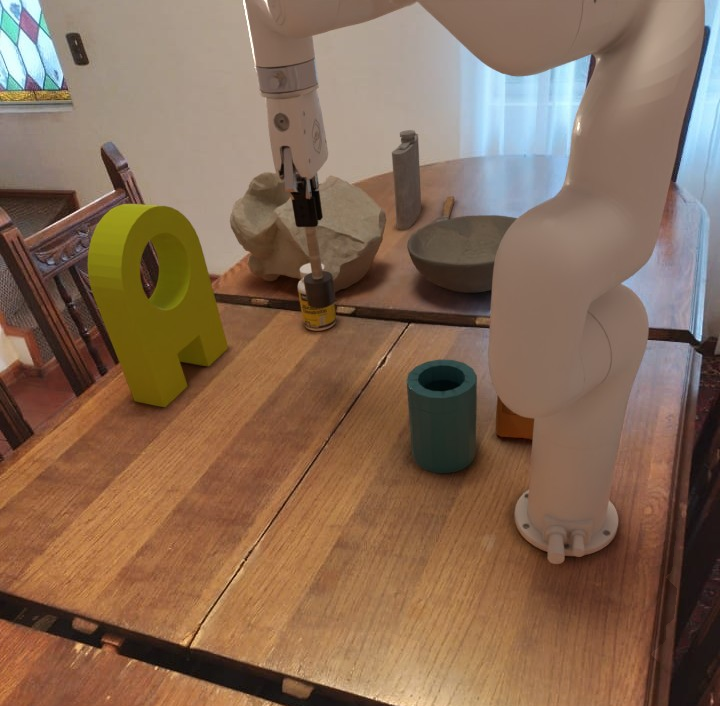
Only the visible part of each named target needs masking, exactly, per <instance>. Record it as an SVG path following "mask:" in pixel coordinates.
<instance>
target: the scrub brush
mask: <svg viewBox="0 0 720 706" xmlns="http://www.w3.org/2000/svg"><path fill="white" fill-rule="evenodd" d="M298 183H302V184H303V185H304V183H303V181H299V182H298ZM305 233H306V239H307V246H308V252H309V258H310V265H311V271H312V273H309V274H307V275H306V276H305V277H304V286H305V292H306V297H307V303H308V305H309V306H310V307H313V308H324V307H328V306H330V305H332V304H333V303H334V304H335V302H336V299H337V298H336V292H334V284H333V277H332V274H331V273H330V272H327V271H322V266H321V259H320V252H319V245H318V239H317V232H316V227H305Z"/></svg>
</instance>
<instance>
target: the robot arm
mask: <svg viewBox="0 0 720 706" xmlns="http://www.w3.org/2000/svg"><path fill="white" fill-rule="evenodd" d="M242 1H243V6H244V12H245V18H246V22H247V28H248V34H249V39H250V45H251V50H252V56H253V61H254V68H255V73H256V79H257V84H258V85H257V86H258V90H259V95H260V96H261V97H262V98H265V107H266V118H267V127H268V128H267V129H268V135H269V142H270V143H269V144H270V149H271V156H272V161H273V166H274V170H275V173H276V174H277V176H278V178H279V179H281V180H284V179H285V191H286V192H290V198H291V200H292V205H293V211H294V217H295V223H296V226H297V227H316V226H317V225H318V220H321V219H322V217H323V215H322V208H321V201H320V193H319V191H315V190H318V189H319V184H320V182H319V177H318V176H319V175H318V172H319V171H320V170H321V169H322V167H323V166H324V164H325V163H326V162H327V160H328V158H329V150H328V142H327V137H326V131H325V125H324V124H325V123H324V118H323V113H322V108H321V102H320V97H319V93H318V89H319V87H320V86H319V77H318V69H317V61H316V54H315V48H314V47H315V46H314V38H313V36H318V35H321V34H325V33H327V32H331V31H335V30H338V29H339V30H340V29H343V28H347V27H351V26H355V25H359V24H364V23H366V22H369V21H373V20H376V19H378V18H380V17H383V16H386V15H388V14H391V13H393V12H396V11H398V10H402V9H403V8H407V7H411V6H413V5H415V4H416V3H418V4H419V5H420V6H421V7H422V9H424V10H425V11H426V12H428V14H430V15H431V16H432V17H433V18H434V19H435V20H436V21H437V22H438V23H439V24H440V25H441V26H442V27H443V28H444V29H446V30H447V31H448V33H450V34H451V35H452V37H454V38H455V39H456V40H457V41H458V42H459V43H460V44H461V45H462V46H463V47H464V48H466V49H467V50H468V51H469V52H470V53H471V55H473V56H474V57H476V59H478V60H479V61H480V62H481V63H483V64H484V65H485V66H486V67H488V68H490V69H492V70H494V71H496V72H498V73H500V74H502V75H507V76H511V77H517V78H518V77H528V76H534V75H538V74H542V73H545V72H547V71H549V70H552V69H554V68H559V67H561V66H563V65H566V64H569V63H572V62H576V61H578V60H580V59H583V58H585V57H588V56H590V55H592V56H593V57H594V58H595V66H594V69H593V72H592V75H591V77H590V80H589V82H588V84H587V86H586V88H585V90H584V93H583V94H582V98H581V100H580V103H579V105H578V108H577V110H576V113H575V118H574V121H573V124H572V130H571V137H570V148H569V149H570V150H569V157H568V163H567V168H566V173H565V177H564V180H563V184H562V186H561V188H560V190H559V191H558V192H557V193H556V194H555V195H554V196H553V197H551V198H549V199H547V200H544V201H542V202H541V203H539V204H537V205H534V207H532V208H530V209H528V210H527V211H525V212H524V213H523V214H521V215H520V216H519V217H516V218H517V219H516V220H515V221H514V222H513V223H512V225H511V226H510V227H509V228H508V230H507V231H506V233H505V235H504V236H503V238H502V240H501V242H500V245H499V248H498V250H497V253H496V257H495V262H494V269H493V280H492V290H491V297H490V314H489V316H490V317H489V330H488V345H487V346H488V348H487V361H488V362H487V364H488V373H489V376H490V381H491V384H492V386H493V389H494V392H495V393H496V395H498V396H499V398H500V399H501V401H502V402H503V403H504V405H505V406H506V407H508V408H509V409H510V410H511V411H513V412H514V413H516V414H518V415H520V416H523V417H527V418H534V428H533V440H532V442H531V443H532V444H531V454H530V455H531V456H530V470H529V481H528V489H527V490H526V491H525V492H523V493H522V494H521V495H520V496H519V498H518V499H517V502H516V504H515V505H514V506H515V507H514V516H513V517H514V523H515V526H516V529H517V531H518V532H519V534H520V535H521V536H522V538H524V539H525V540H526V541H527V543H529V544H531V545H532V546H534V547H535V548H537V549H539V550H541V551H544V552H547V561H548V562H549V563H550V564H553V565H559V564H562V563H564V561H565V560H566V559H565V557H577V558H581V557H583V556H586V555H591V554H593V553H597V552H598V551H602V549H604V548H605V547H607V546H609V544H610V543H611V542H612V541H614V539H615V537H616V534H617V531H618V527H619V515H618V511H617V509H616V507H615V505H614V504H613V502H612V501H611V500H610V497H611V492H612V487H613V481H614V475H615V470H616V464H617V459H618V453H619V448H620V443H621V437H622V431H623V428H624V423H625V417H626V414H627V413H626V412H627V407H628V403H629V399H630V395H631V392H632V388H633V386H634V384H635V383H634V382H635V380H636V378H637V374H638V372H639V369H640V367H641V364H642V361H643V359H644V356H645V352H646V350H647V345H648V340H649V331H650V326H649V323H650V322H649V317H648V313H647V310H646V307H645V305H644V303H643V301H642V300H641V298H640V297H639V295H638V294H637V293H636V292H635V291H634V290H633V289H632V288H630V287H628V286H626V285H625V284H623V283H624V282H626V281H628V279H630V278H632V277H633V276H634V275H635V274H637V273H638V272H639V271H640V270H642V268H644V266H646V264H647V263H648V262H649V261H650V259H651V257H652V255H653V253H654V252H655V249H656V245H657V243H658V242H657V241H658V237H659V234H660V229H661V224H662V220H663V214H664V211H665V207H666V203H667V198H668V193H669V188H670V184H671V180H672V175H673V173H674V167H675V163H676V159H677V155H678V148H679V142H680V138H681V133H682V128H683V124H684V120H685V116H686V112H687V108H688V104H689V100H690V96H691V93H692V91H693V86H694V82H695V78H696V75H697V71H698V67H699V62H700V57H701V53H702V47H703V42H704V37H705V36H704V35H705V26H706V4H705V3H706V2H705V0H242ZM299 181H303V183H304V185H303V184H302V183H298V182H299Z"/></svg>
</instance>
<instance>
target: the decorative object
mask: <svg viewBox="0 0 720 706" xmlns="http://www.w3.org/2000/svg"><path fill="white" fill-rule="evenodd" d="M149 242H151V244H152V246H153V248H154V251H155V254H156V256H157V263H158V278H157V283H156V285H155V288H154V290H153V293H152V294H151V296H150V297H149V298H148V297H147V294H146V293H145V290H144V288H143V283H142V278H141V277H142V276H141V263H142V259H143V258H142V257H143V253H144V251H145V249H146V247H147V245H148V244H149ZM88 246H89V247H88V252H87V276H88V282H89V287H90V289H91V293H92V296H93V299H94V300H95V304H96V307H97V309H98V312H99V314H100V316H101V317H100V318H101V319H102V321H103V324H104V327H105V329H106V331H107V334H108V337H109V340H110V342H111V344H112V347H113V350H114V352H115V354H116V357H117V360H118V362H119V366H120V367H121V370H122V373H123V376H124V378H125V381H126V383H127V385H128V388H129V391H130V393H131V396H132V398H133V401H134V402H135V403H141V404H146V405H150V406H156V407H161V408H166V407H167V406H168V405H170V404H171V403H172V402H173V401H174V400H175V399H176V398H177V397H178V396H179V395H180V394H181V393H182V392H183V391H185V390H186V389H187V388H188V383H187V379H186V376H185V374H184V370H183V367H182V364H181V363H186V364H192V365H197V366H204V367H210V366H211V365H212V364H213V363H214V362H216V360H218V359H219V358H220V357H221V356H222V355H223V354H224V353H225V352H226V351H227V350H228V349H229V346H228V342H227V338H226V335H225V330H224V326H223V322H222V319H221V318H222V317H221V315H220V311H219V307H218V304H217V301H216V296H215V292H214V288H213V285H212V281H211V277H210V273H209V269H208V266H207V262H206V259H205V255H204V251H203V248H202V244H201V241H200V238H199V236H198V234H197V230H196V229H195V228H194V225H192V223H191V221H190V220H189V219H188V218H187V217H186V215H184V214H183V213H182V212H181V211H179V210H178V209H177V208H176V209H175V208H173V207H171V206H167V205H157V204H156V205H155V204H143V203H141V204H140V203H123V204H119V205H117V206H115V207H113V208H111V209H109V210H108V211H107V212H106V213H105V214H104V215H103V216H102V217H101V219H100V220H99V222H97V224H96V226H95V229H94V231H93V233H92V235H91V239H90V241H89V245H88Z"/></svg>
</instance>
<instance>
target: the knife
mask: <svg viewBox="0 0 720 706" xmlns="http://www.w3.org/2000/svg"><path fill="white" fill-rule="evenodd" d="M445 201H446V202H445V203H444V206H443V212H442V213H443V214H442V216H439V217H437V218H436V219H435V222H438V221H442V220H447V219H450V216H451V212H452V210H453V207H454V203H455V196H454V195H452V196H447V197H446V198H445Z"/></svg>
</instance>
